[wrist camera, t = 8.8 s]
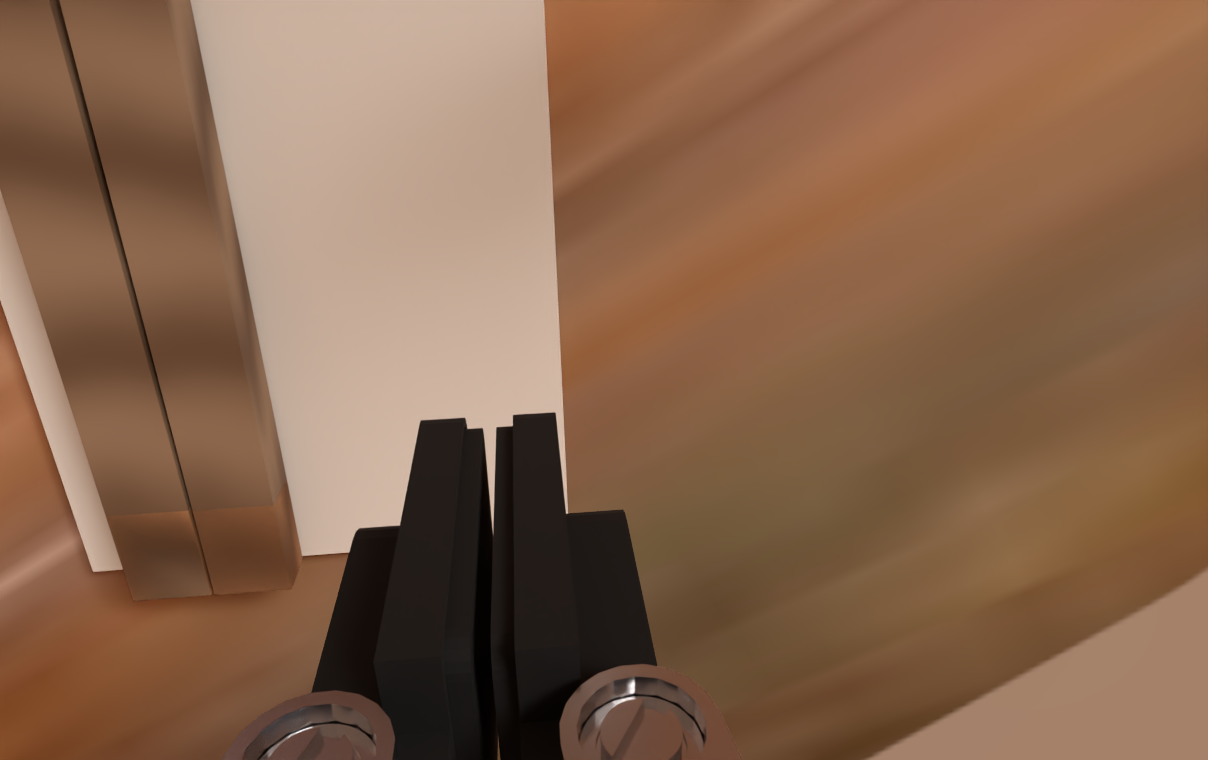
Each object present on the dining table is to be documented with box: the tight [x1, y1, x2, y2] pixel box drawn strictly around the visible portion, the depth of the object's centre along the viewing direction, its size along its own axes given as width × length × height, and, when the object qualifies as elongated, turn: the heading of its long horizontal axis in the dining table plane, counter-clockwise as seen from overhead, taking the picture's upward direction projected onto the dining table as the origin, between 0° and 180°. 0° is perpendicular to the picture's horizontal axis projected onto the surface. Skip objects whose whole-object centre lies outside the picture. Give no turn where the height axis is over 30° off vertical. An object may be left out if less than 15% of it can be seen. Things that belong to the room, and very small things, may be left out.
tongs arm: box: [59, 0, 303, 595], centre depth 30 cm, size 22×3×2 cm, turn 1°
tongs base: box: [0, 0, 213, 601], centre depth 28 cm, size 26×3×3 cm, turn 1°
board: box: [0, 0, 568, 572], centre depth 30 cm, size 27×20×1 cm
